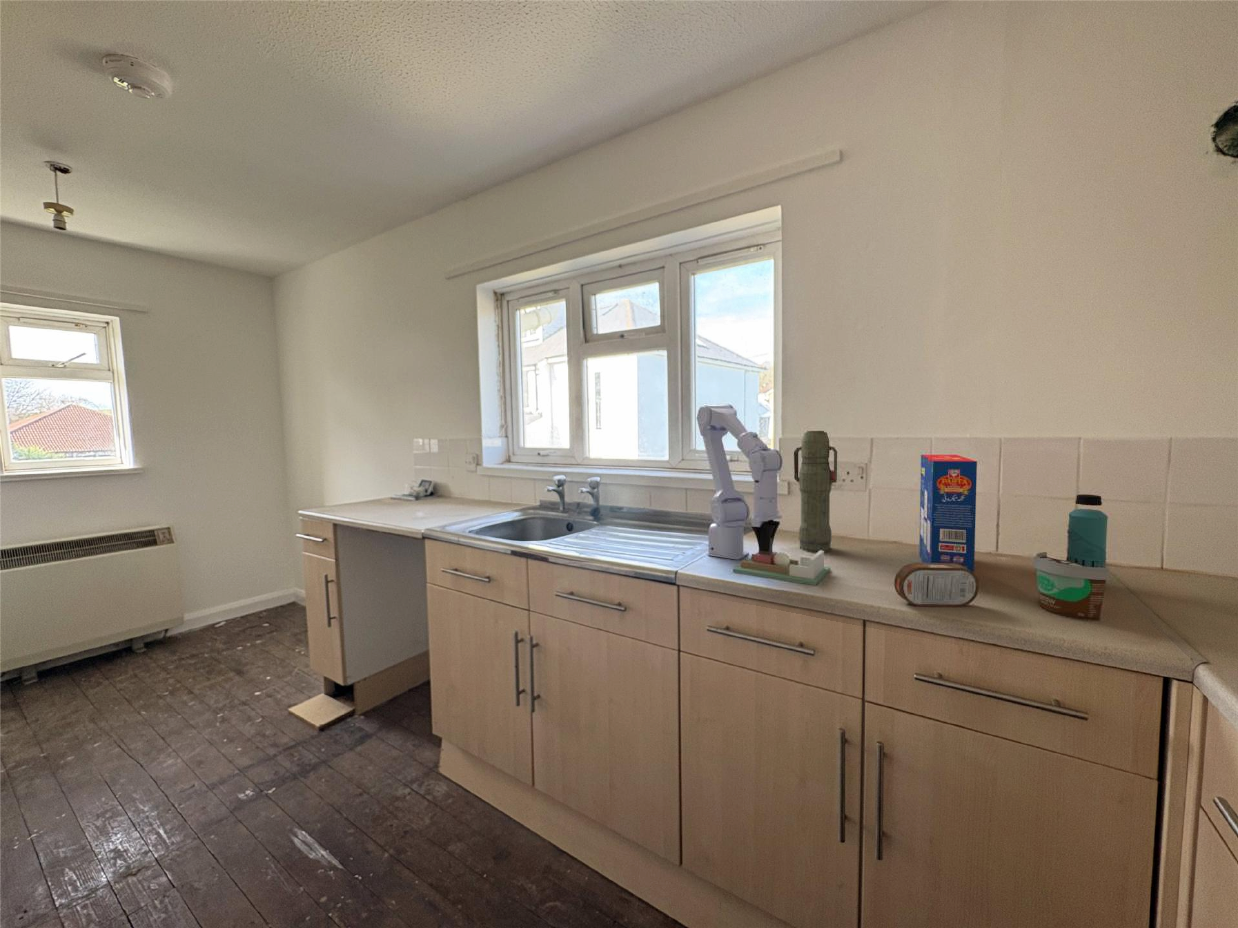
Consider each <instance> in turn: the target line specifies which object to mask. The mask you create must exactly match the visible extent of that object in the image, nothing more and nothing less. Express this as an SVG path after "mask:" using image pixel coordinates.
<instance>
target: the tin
mask: <svg viewBox="0 0 1238 928" xmlns="http://www.w3.org/2000/svg"><path fill="white" fill-rule="evenodd" d="M893 582H894V583H893V585H894V590H895V592H896V594H897V595H898V596H899V598H901V599H903V600H904V601H906V602H907V603H909V604H911V605H912V606H915V607H916V606H917V607H939V608H940V607H948V608H950V607H951V608H956V607H957V608H960V607H966V606H967V605H970V604H971V603H972V602H973V601H974V600H975V599H976V598H977V596H978V593H979V590H980V582H979V578H978V577H977V576H976V575H975V572H974V573H973V572H971V571H970V570H968V569H967V568H966V567H964V566H962V565H960V564H955V563H923V562H912V563H908V564H906V565H904V566H903V567H901V568H900V569H899V570H898V571H897V573H896V575H895V577H894V581H893Z"/></svg>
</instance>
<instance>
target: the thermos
mask: <svg viewBox="0 0 1238 928" xmlns="http://www.w3.org/2000/svg"><path fill="white" fill-rule="evenodd" d="M800 451H801V459H802V460H801V466H800V469H799V452H800ZM830 451H833V474H832V470H831V467H830V462H829V460H830V459H829V458H830ZM793 471H794V475H793V476H794V477H793V478H794V480H795V481H796V482H797V483H798V485H799V486H798V489H799V491H800V492H799V493H800V527H799V528H798V540H799V547H800V548H799V549H800V550H801V549H803V550H802V551H804V550H805V552H809V551H812V552H811V553H817V552H819V551H820V550H821V551H824V553H827V552H831V543H832V530H831V529H832V528H831V526H830V508H831V507H830V505H831V504H830V503H831V500H830V498H831V497H830V496H831V495H830V494H831V491H832V485H833V483H834V484H835V483H837V480H838V451H837V449H836V448H835V446H831V445H830V438H829V435H828V432H826V431H825V430H807V431H806V432H804V433H803V436H802V440H801V446H800V447H796V448H795V450H794V451H793ZM832 475H833V477H832Z"/></svg>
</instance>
